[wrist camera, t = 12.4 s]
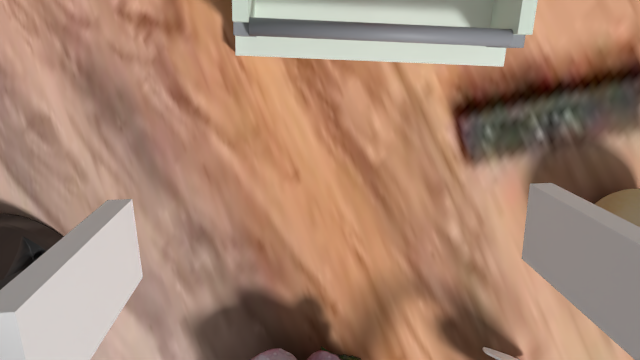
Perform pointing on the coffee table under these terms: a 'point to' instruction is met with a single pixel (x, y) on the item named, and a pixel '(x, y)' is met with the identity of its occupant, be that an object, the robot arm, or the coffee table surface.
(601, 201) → the apple
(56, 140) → the coffee table surface
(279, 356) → the flower
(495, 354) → the headset
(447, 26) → the open box
